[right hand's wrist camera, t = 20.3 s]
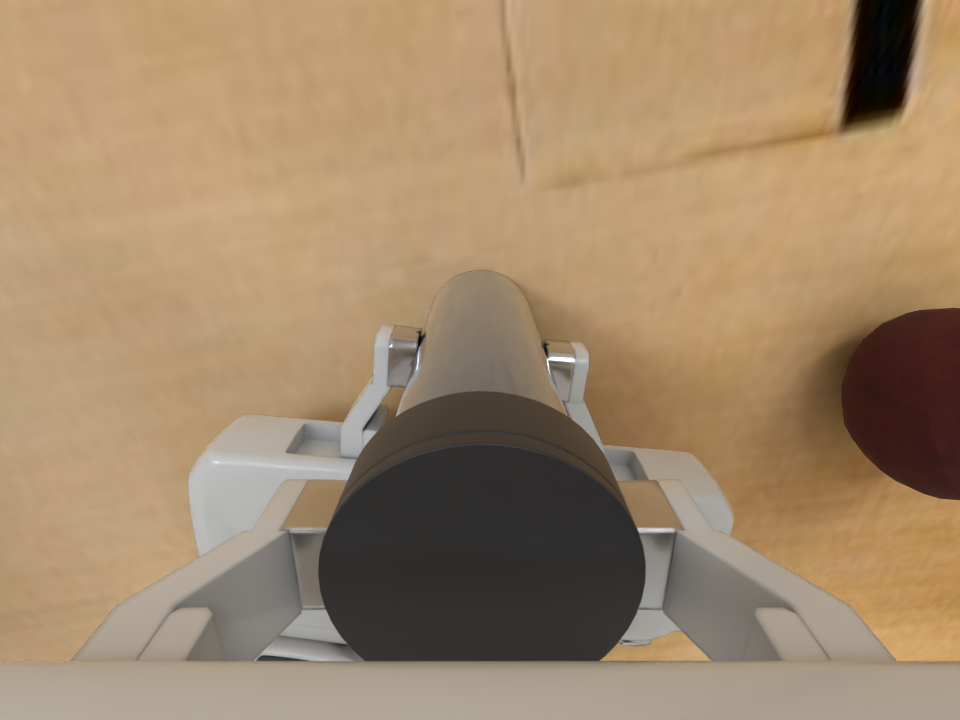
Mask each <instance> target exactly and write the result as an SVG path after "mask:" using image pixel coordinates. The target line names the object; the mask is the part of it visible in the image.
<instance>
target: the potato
mask: <svg viewBox="0 0 960 720" xmlns="http://www.w3.org/2000/svg"><path fill="white" fill-rule="evenodd" d="M842 406H843V415H844V424H845V426H846V428H847V430H848V432H849V433H850V435H851V437H852V439H853V440H854V441H855V443H856V444H857V445H858V447H859V448H860V449H861V451H862V452H863V453H864V455H865V456H866V457H867V458H868V459H869V460H871V461H872V462H873V463H874V464H875V465H876V466H877V467H878V468H879V469H880V470H881V471H883V472H884V473H885V474H887V475H888V476H890V477H891V478H893V479H894V480H895V481H897V482H900V483H902V484H904V485H906V486H908V487H910V488H912V489H915V490H917V491H919V492H921V493H923V494H927V495H930V496H933V497H937V498H941V499H953V500H960V308H946V309H931V310H919V311H914V312H910V313H906V314H904V315H902V316H899V317H897V318H895V319H892V320H890V321H887V322H885V323H883V324H881V325H880V326H879V327H878V328H877V329H875V330H874V331H873V332H872V333H871V334H870V335H868V336H867V337H866V338H865V339H864V340H863V341H862V343H861V344H860V346H859V347H858V349H857V350H856V352H855V353H854V355H853V356H852V358H851V359H850V362H849V365H848V369H847V372H846V376H845V379H844V382H843V386H842Z"/></svg>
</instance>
